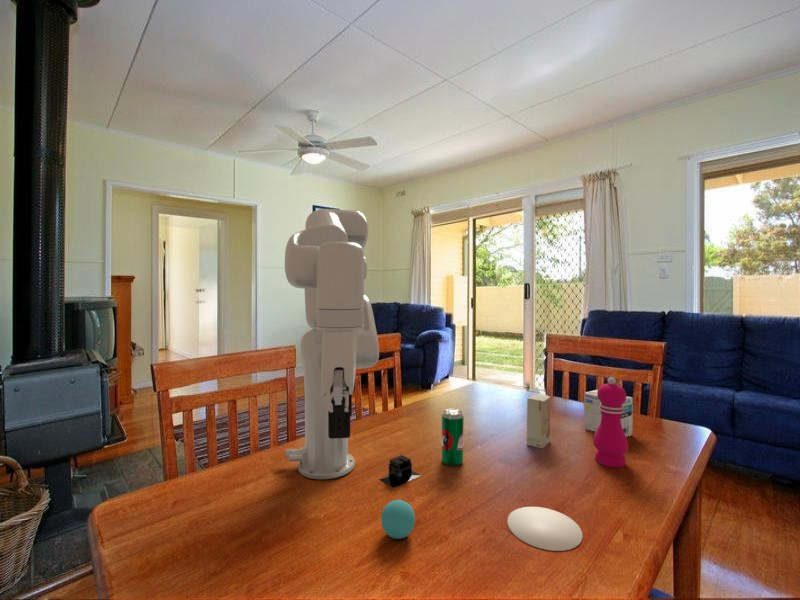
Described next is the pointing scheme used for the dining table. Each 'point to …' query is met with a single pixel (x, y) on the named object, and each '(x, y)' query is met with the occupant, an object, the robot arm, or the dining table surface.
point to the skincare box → (538, 420)
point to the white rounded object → (544, 528)
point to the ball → (398, 519)
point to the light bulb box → (594, 415)
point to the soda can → (452, 437)
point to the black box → (399, 472)
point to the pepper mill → (611, 426)
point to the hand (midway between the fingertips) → (341, 426)
